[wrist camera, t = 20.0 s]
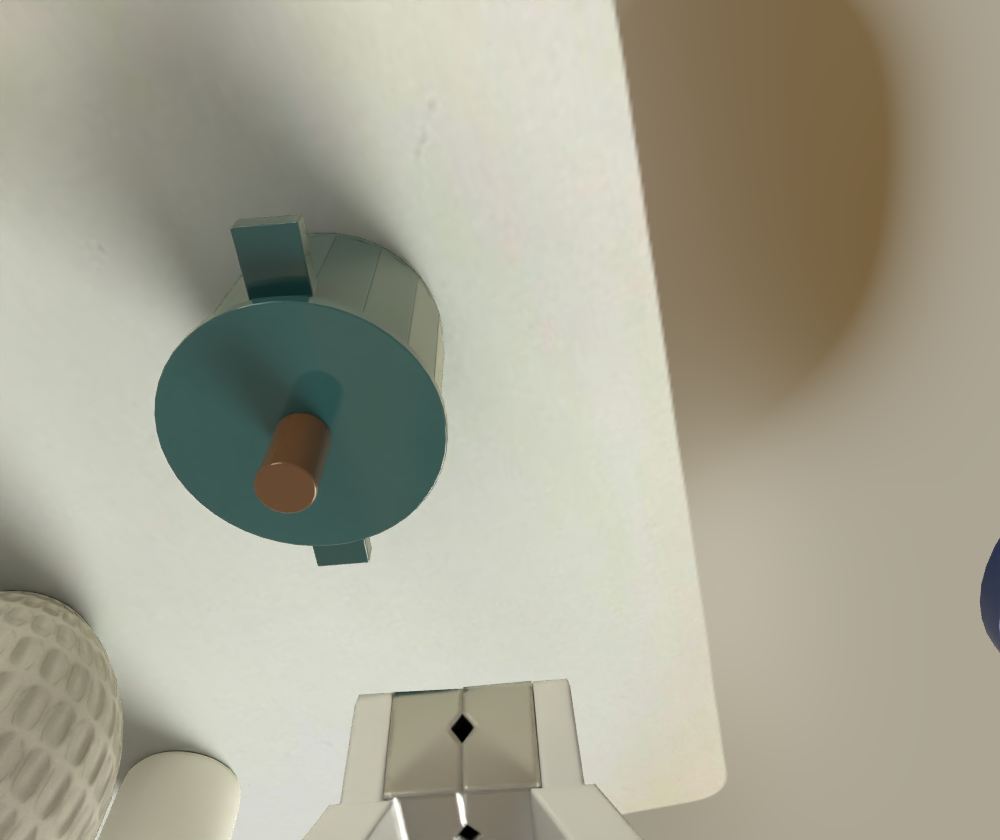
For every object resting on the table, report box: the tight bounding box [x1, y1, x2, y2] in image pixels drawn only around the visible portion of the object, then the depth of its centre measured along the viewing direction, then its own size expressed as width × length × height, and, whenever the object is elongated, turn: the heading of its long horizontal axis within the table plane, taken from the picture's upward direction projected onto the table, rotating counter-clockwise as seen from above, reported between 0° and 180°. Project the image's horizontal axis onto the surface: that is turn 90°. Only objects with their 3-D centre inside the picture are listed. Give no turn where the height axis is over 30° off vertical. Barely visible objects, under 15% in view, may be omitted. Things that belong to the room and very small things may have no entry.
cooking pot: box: [213, 215, 444, 566], centre depth 34 cm, size 10×16×8 cm, turn 4°
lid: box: [155, 296, 448, 546], centre depth 29 cm, size 11×11×5 cm
